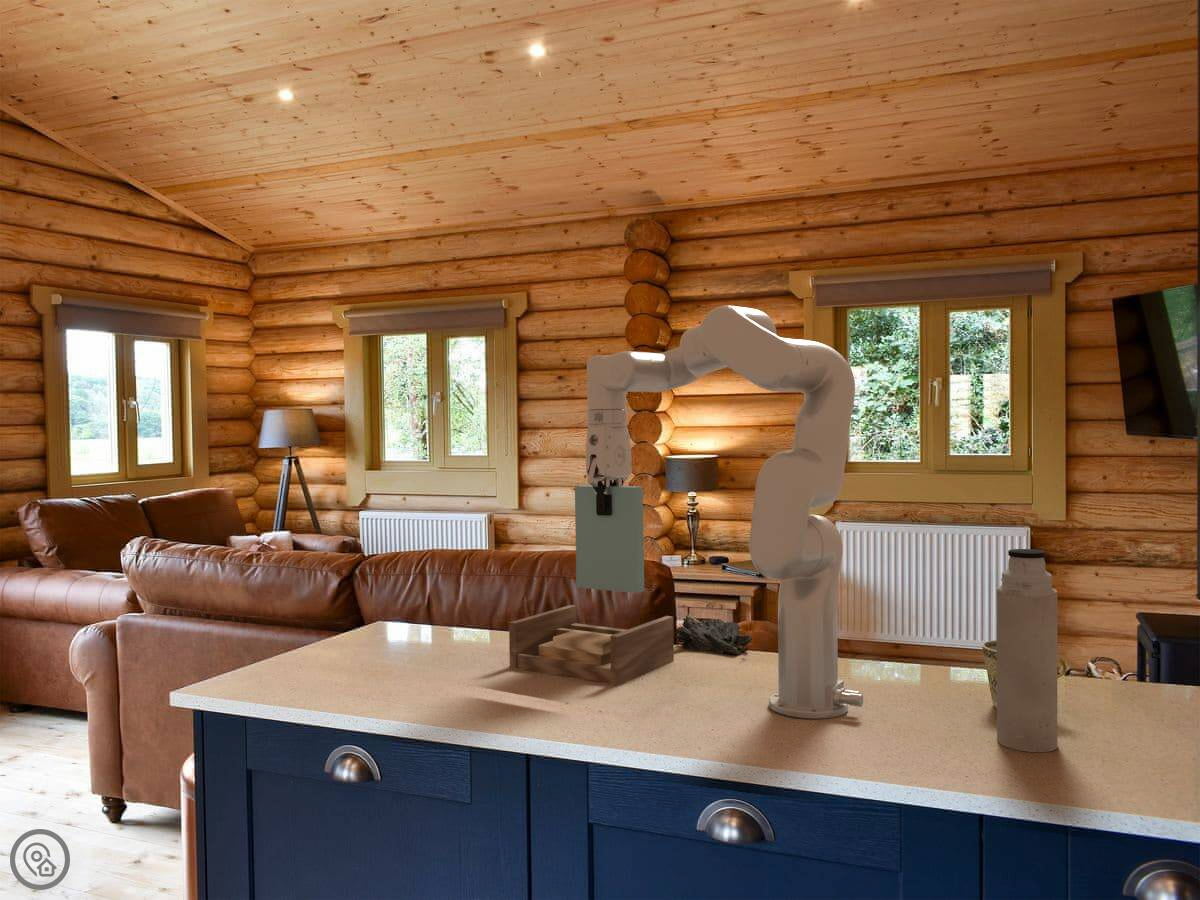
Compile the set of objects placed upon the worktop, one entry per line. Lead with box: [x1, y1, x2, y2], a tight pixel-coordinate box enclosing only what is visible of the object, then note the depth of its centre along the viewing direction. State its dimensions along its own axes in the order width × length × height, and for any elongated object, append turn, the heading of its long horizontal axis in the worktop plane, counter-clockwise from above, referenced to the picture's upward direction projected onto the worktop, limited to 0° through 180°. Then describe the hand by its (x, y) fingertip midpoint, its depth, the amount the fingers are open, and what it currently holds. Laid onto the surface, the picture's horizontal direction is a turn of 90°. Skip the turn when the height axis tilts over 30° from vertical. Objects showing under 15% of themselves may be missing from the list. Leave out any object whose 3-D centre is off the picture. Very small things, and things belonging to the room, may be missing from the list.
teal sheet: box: [574, 484, 645, 594], centre depth 183 cm, size 14×2×20 cm, turn 57°
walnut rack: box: [508, 604, 675, 687], centre depth 179 cm, size 24×20×10 cm
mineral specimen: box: [674, 612, 753, 656], centre depth 192 cm, size 15×13×10 cm
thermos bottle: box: [996, 548, 1059, 753], centre depth 136 cm, size 8×8×28 cm
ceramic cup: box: [981, 639, 1067, 709], centre depth 152 cm, size 13×10×10 cm
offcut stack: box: [539, 630, 611, 667], centre depth 176 cm, size 16×9×6 cm, turn 57°
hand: (608, 513), depth 183 cm, fingers closed on teal sheet, 2 cm apart
